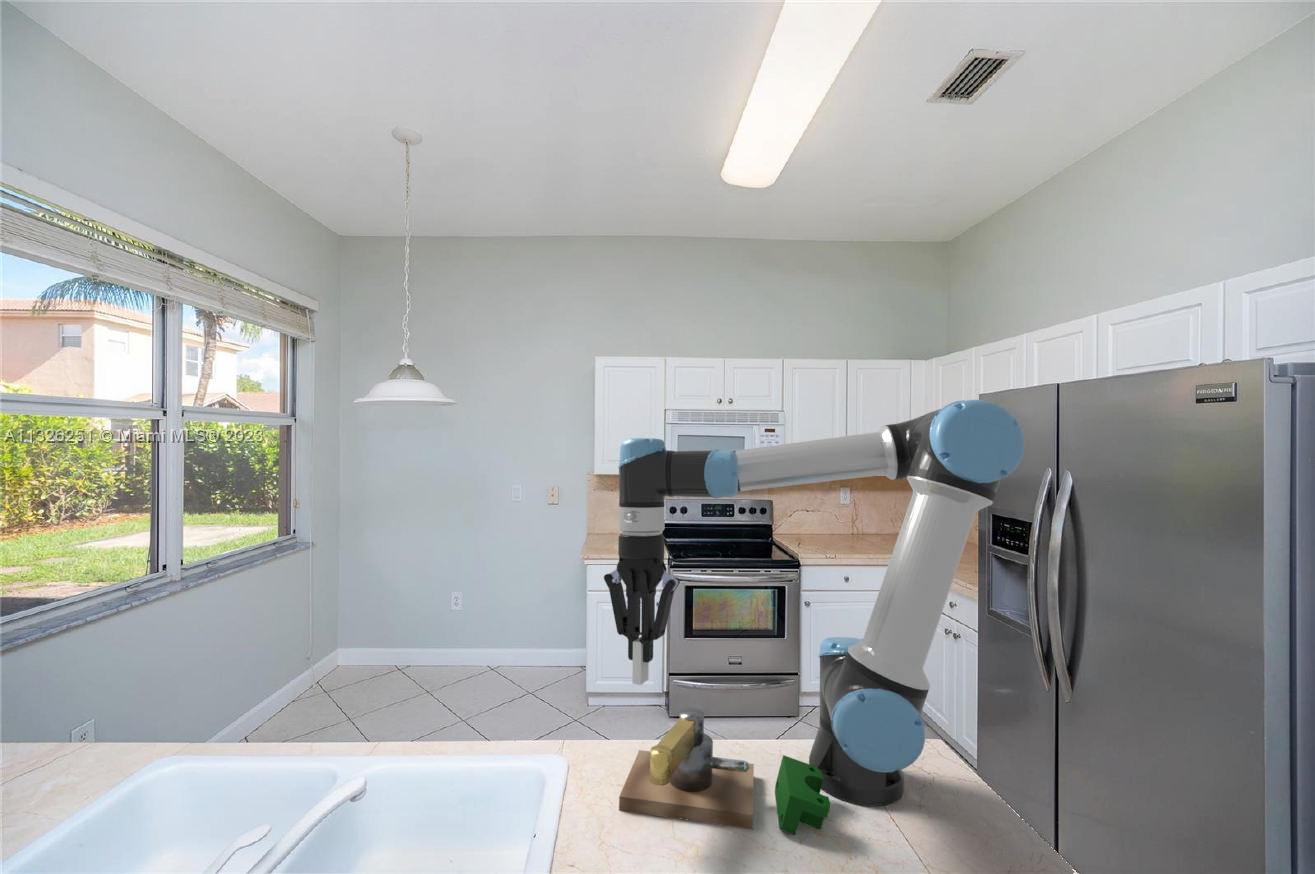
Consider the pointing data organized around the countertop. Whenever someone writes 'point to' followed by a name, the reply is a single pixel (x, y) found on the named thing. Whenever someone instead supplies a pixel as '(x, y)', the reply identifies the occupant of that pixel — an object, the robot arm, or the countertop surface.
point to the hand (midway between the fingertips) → (640, 681)
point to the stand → (691, 796)
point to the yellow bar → (676, 745)
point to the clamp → (800, 796)
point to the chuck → (702, 767)
